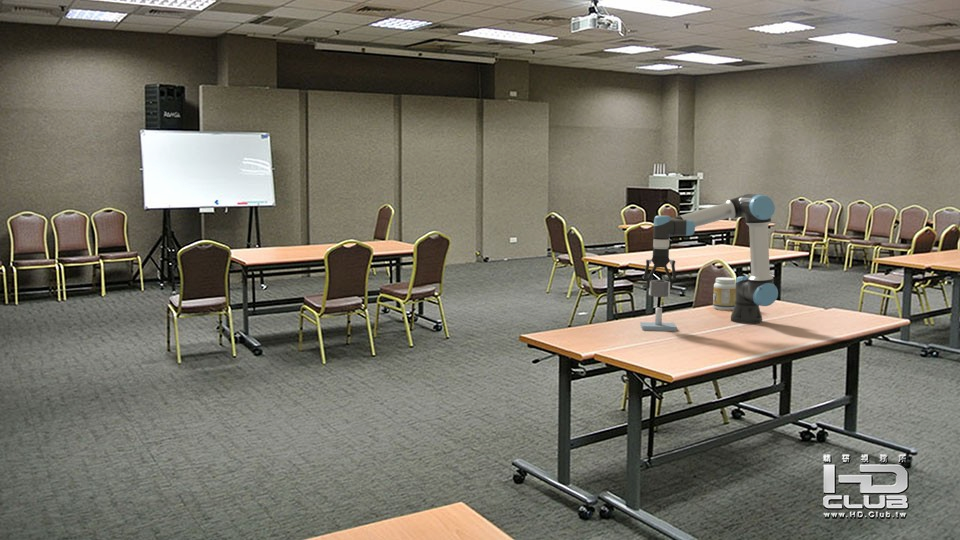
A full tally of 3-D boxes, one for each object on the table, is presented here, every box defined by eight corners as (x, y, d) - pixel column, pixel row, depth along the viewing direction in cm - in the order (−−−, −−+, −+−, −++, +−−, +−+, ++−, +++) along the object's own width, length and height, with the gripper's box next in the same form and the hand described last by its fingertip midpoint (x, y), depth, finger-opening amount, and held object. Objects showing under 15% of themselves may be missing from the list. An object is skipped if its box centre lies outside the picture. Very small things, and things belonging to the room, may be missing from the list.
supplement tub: (710, 306, 447) (712, 276, 445) (733, 307, 446) (734, 277, 444) (715, 310, 435) (716, 279, 433) (737, 310, 434) (739, 280, 432)
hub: (666, 294, 386) (667, 280, 385) (668, 297, 378) (669, 282, 377) (649, 294, 387) (650, 279, 386) (651, 296, 379) (652, 282, 378)
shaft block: (673, 327, 388) (674, 306, 387) (676, 331, 378) (677, 310, 377) (640, 326, 390) (641, 306, 389) (642, 330, 380) (643, 309, 379)
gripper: (682, 247, 382) (680, 294, 385) (638, 246, 384) (636, 293, 387) (684, 249, 375) (682, 297, 377) (639, 248, 377) (637, 295, 379)
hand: (659, 295), depth 382 cm, fingers closed on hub, 8 cm apart
